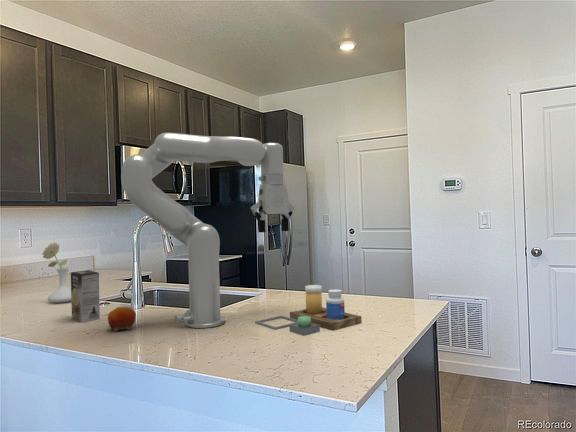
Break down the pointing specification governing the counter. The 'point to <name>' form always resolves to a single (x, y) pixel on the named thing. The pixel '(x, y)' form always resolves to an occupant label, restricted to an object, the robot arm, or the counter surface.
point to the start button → (304, 321)
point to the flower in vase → (63, 291)
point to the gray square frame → (275, 319)
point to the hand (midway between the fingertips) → (273, 231)
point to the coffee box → (85, 295)
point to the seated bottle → (313, 299)
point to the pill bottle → (335, 305)
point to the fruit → (121, 318)
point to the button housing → (304, 328)
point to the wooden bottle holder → (328, 323)
